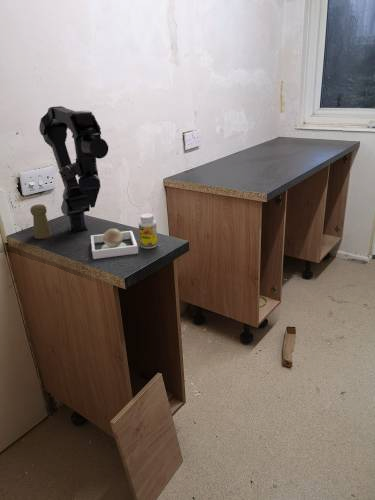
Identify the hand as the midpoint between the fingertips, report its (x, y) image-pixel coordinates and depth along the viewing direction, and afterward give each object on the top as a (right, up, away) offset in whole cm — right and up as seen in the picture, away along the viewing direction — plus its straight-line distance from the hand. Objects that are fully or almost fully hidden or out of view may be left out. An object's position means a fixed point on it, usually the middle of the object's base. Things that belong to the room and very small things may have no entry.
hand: (92, 203), depth 128 cm
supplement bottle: (+18, -14, 0) cm, 23 cm away
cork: (-20, -10, +11) cm, 25 cm away
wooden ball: (+7, -14, -1) cm, 16 cm away
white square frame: (+7, -14, -1) cm, 16 cm away
